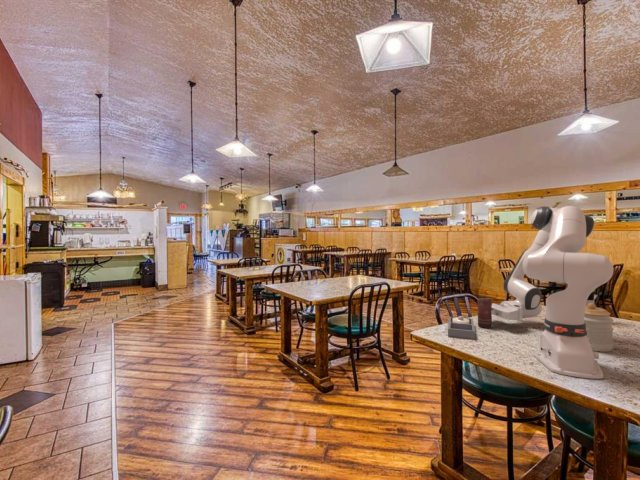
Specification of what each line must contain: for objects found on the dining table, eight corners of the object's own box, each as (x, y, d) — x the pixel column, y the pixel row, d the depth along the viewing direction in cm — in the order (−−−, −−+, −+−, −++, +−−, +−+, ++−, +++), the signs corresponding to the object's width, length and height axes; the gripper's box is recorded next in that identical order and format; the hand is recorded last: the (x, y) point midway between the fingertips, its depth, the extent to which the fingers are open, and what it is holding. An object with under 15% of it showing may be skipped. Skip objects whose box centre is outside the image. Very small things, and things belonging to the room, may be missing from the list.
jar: (568, 346, 129) (569, 303, 128) (573, 338, 138) (573, 298, 138) (612, 355, 120) (613, 308, 119) (613, 346, 129) (614, 302, 129)
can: (494, 328, 154) (493, 299, 154) (480, 328, 155) (479, 299, 155) (490, 325, 160) (489, 297, 160) (476, 324, 161) (475, 296, 161)
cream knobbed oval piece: (469, 328, 151) (469, 319, 151) (452, 327, 154) (452, 317, 154) (469, 324, 158) (469, 315, 158) (452, 322, 161) (452, 314, 161)
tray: (475, 339, 139) (475, 331, 139) (448, 336, 143) (447, 328, 143) (472, 325, 159) (472, 318, 159) (449, 323, 164) (449, 316, 164)
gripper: (493, 299, 169) (470, 300, 167) (524, 308, 149) (498, 309, 147) (493, 311, 170) (470, 312, 167) (524, 321, 149) (498, 323, 147)
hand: (483, 311), depth 157 cm, fingers closed
